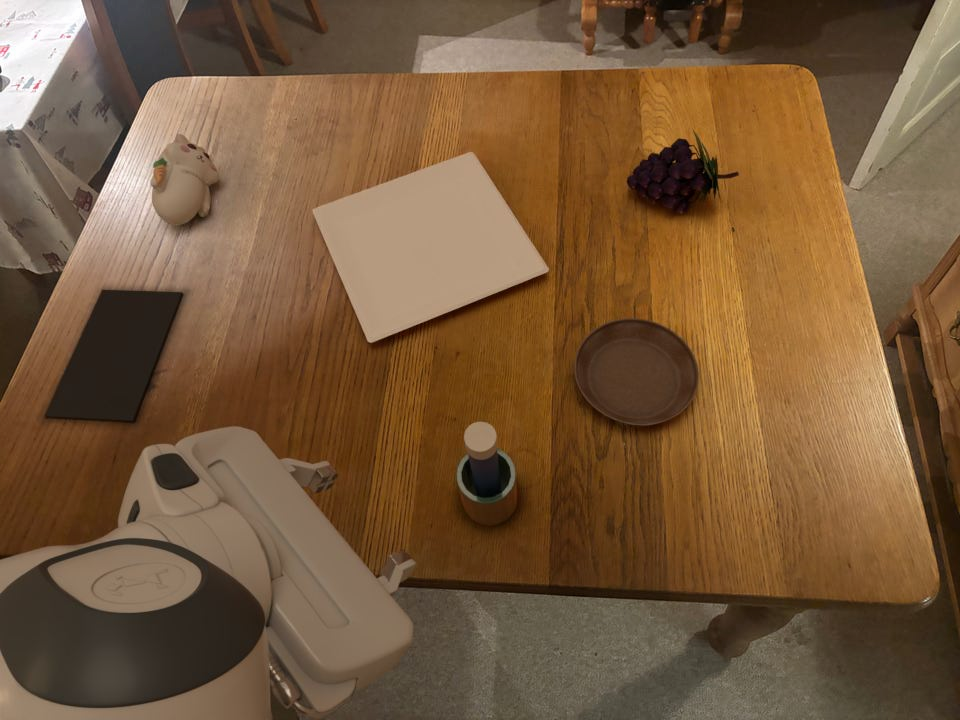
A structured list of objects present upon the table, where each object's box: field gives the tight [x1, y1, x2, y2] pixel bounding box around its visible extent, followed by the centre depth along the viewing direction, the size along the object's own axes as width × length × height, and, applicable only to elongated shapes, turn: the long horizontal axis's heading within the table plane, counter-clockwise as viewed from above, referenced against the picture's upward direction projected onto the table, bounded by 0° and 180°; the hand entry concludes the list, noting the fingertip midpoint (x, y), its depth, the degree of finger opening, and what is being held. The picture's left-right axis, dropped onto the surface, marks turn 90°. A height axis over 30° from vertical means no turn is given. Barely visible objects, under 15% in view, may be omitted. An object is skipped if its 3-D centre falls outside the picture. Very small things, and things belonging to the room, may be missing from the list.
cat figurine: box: [149, 133, 220, 226], centre depth 99 cm, size 10×8×15 cm
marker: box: [463, 421, 502, 498], centre depth 67 cm, size 3×3×17 cm
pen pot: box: [455, 447, 518, 527], centre depth 72 cm, size 6×6×8 cm
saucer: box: [573, 317, 700, 426], centre depth 81 cm, size 15×15×3 cm
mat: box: [44, 289, 184, 423], centre depth 89 cm, size 20×12×1 cm, turn 175°
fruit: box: [626, 129, 740, 214], centre depth 92 cm, size 10×11×15 cm
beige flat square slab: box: [311, 151, 550, 344], centre depth 94 cm, size 26×26×2 cm
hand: (367, 516), depth 50 cm, fingers open, 8 cm apart
